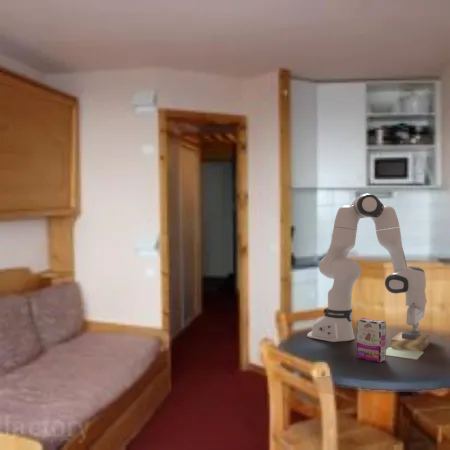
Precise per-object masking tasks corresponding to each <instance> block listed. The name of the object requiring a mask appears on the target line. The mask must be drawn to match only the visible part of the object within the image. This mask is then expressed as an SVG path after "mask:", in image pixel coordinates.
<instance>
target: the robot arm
mask: <svg viewBox="0 0 450 450" xmlns="http://www.w3.org/2000/svg"><path fill="white" fill-rule="evenodd" d="M365 218H370V219H372V221H373V222H374V225H375V232H376V238H377V241H378V243H379V244H380V246H382V247H383V248H384V249H385V250H387V252H388V253H389V255H390V258H391V259H390V260H391V263H392V268H393V273H391V274H388V276H387V277H386V278H385V280H384V287H385V288H386V290H387V292H389V293H391V294H395V295H396V294H402V293H405V306H407V311H406V325H408V326H412V330H413V331H419V324H420V322H421V321H422V319H424V317H425V311H426V310H425V309H426V305H427V297H426V296H427V295H426V287H427V281H426V280H427V279H426V273H425V271H424V269H423V268H421V267H418V266H408V265H407V261H406V257H405V252H404V248H403V243H402V242H403V241H402V234H401V226H400V221H399V218H398V215H397V212H396V210H395V208H394V207H393V206H390V205H384V204H383V203H382V202H381V200H380V199H379V198H378V197H377V196H376V195H375V194H373V193H364V194H361V195H359V196H358V197H357V198H356V199H355V200H354V201H353V202H352V204H351V205H343V206H341V207H339V208H338V210H337V212H336V215H335V219H334V223H333V229H332V236H331V241H330V245H329V248H328V250H327V252H326V254H325V256H324V257H323V258H321V260H320V261H319V264H318V270H319V272H320V274H321V275H323V276H324V277H326V278H329V279H331V280H333V282H332V286H331V288H330V289H329V290H328V292H327V306H326V307H325V308H324V309H323V310H322V313H323V316H322V317H320V318H319V319H317V320H316V321H315V322H313V324H312V326H311V331H309V332H308V333H307V338H311V339H315V340H316V339H317V340H321V341H327V342H330V343H336V342H337V343H338V342H348V341H353V340H355V337H356V336H355V335H354V330H353V322H352V321H353V308H352V295H353V288H354V285H355V284H356V281H357V280H358V279H359V278H360V277H361V275H362V266H361V264H360V263H359V262H357V261H356V260H354V259H352V258H347V257H348V254H349V253H350V252H351V250H352V249H353V248H355V246H356V238H357V233H358V224H359V221H360V219H365Z"/></svg>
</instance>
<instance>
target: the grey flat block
mask: <svg viewBox="0 0 450 450" xmlns="http://www.w3.org/2000/svg"><path fill="white" fill-rule="evenodd" d="M420 334H421V331H420V330H418V331H413V329H412V330H411V329H406V330H405V331H403V333H402V338H405V339H413V340H416V339H417V338H418V337H419V336H420Z"/></svg>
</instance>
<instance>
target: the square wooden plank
mask: <svg viewBox="0 0 450 450" xmlns="http://www.w3.org/2000/svg"><path fill="white" fill-rule="evenodd" d="M403 332H404V331H403ZM403 332H402V331H400V332H398V334H396V335H394V337H392V338H391V340H390V342H391V343H390V344H391V346H390V347H391V348H399V349H406V350H414V351H422V352H424V350H425V349H426V348H427V347H428V346H429V345H430V334H429V335H428V334H422V333H420V336H419V337H418V338H417V339H416V340H413V339H405V338H402V333H403Z"/></svg>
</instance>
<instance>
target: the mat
mask: <svg viewBox="0 0 450 450" xmlns="http://www.w3.org/2000/svg"><path fill="white" fill-rule="evenodd" d="M424 352H425V351H414V350H406V349H399V348H391V346H390V347H387V348H386V357H393V358H402V359H408V360H409V359H410V360H415V361H417V360H419V358H421V356H422V355H423V354H424Z"/></svg>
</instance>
